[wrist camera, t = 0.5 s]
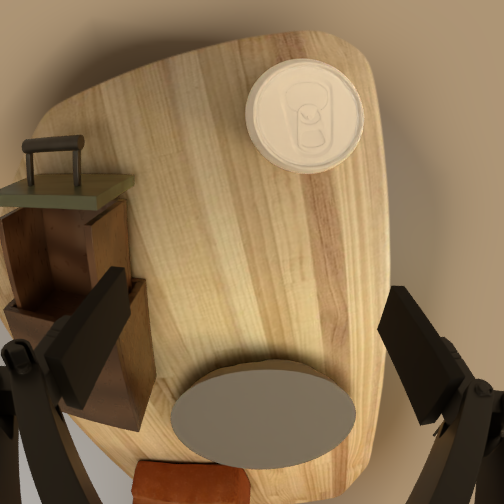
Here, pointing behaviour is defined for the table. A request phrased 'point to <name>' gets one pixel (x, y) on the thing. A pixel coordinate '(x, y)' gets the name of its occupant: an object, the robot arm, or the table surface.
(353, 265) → the table surface
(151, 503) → the bread
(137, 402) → the cabinet
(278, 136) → the beverage can
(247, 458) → the flat disc
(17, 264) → the drawer
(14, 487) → the robot arm
